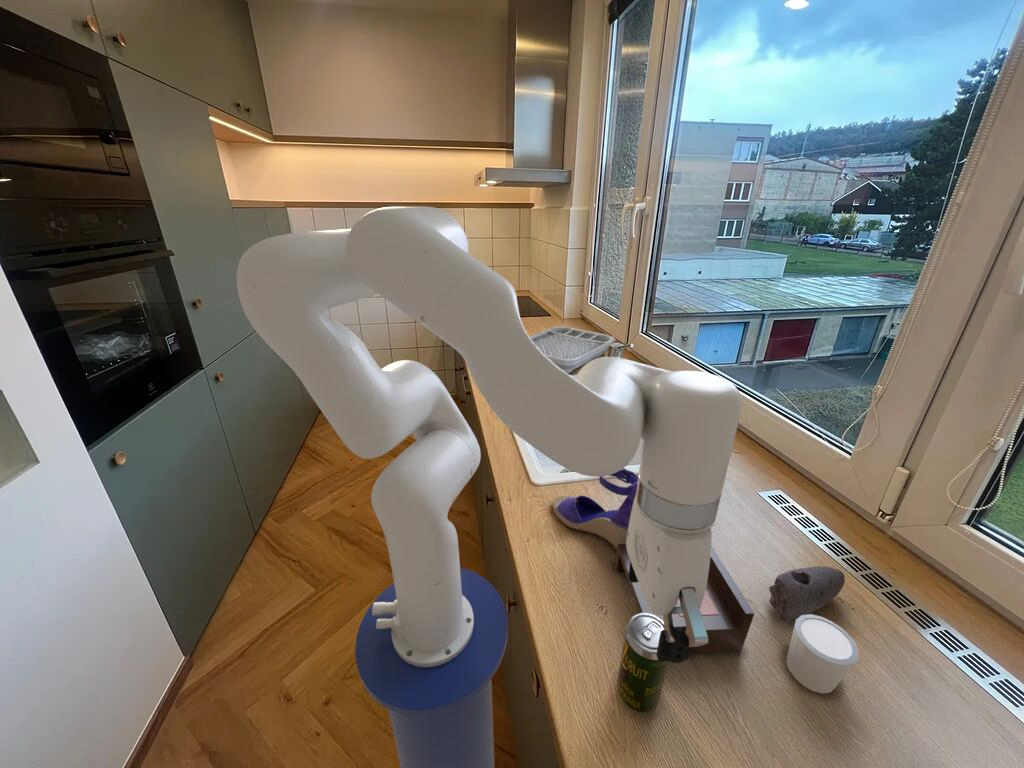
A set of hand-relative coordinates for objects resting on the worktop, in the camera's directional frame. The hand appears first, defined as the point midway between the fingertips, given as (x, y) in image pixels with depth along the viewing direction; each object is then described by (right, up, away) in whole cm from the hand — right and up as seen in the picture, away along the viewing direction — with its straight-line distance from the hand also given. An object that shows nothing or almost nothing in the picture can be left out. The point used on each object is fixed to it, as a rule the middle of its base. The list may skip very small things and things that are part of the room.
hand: (655, 615), depth 47 cm
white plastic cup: (+25, -13, +9) cm, 29 cm away
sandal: (-1, -2, +34) cm, 34 cm away
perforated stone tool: (+30, -9, +19) cm, 36 cm away
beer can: (0, -14, +7) cm, 16 cm away
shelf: (+9, -9, +19) cm, 22 cm away
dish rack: (+5, +37, +122) cm, 127 cm away
